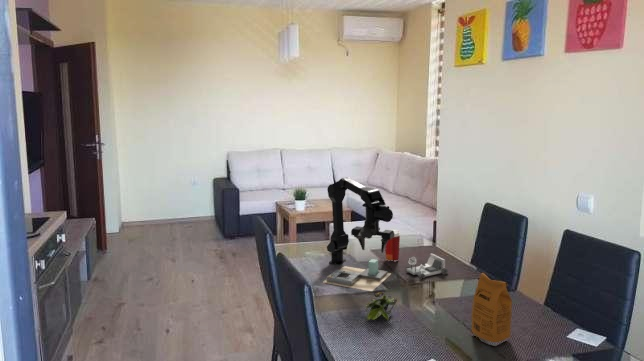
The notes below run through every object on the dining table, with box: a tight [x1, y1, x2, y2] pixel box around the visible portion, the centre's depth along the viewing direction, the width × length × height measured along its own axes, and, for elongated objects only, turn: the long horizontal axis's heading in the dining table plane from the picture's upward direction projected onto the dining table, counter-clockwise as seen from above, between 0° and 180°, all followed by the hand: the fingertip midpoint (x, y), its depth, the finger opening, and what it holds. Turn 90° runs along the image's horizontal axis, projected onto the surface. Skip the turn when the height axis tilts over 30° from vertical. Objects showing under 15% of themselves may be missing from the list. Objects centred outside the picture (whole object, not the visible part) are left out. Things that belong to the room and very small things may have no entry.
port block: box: [326, 269, 361, 286], centre depth 229 cm, size 10×12×2 cm
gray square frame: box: [361, 267, 389, 281], centre depth 233 cm, size 9×10×1 cm
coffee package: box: [471, 272, 513, 342], centre depth 173 cm, size 10×12×22 cm
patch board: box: [322, 265, 392, 292], centre depth 231 cm, size 22×24×1 cm
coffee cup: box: [384, 229, 401, 261], centre depth 252 cm, size 8×8×15 cm
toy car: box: [404, 253, 449, 280], centre depth 235 cm, size 18×10×12 cm
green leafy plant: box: [365, 292, 397, 323], centre depth 193 cm, size 11×11×12 cm
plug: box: [367, 258, 379, 276], centre depth 233 cm, size 4×3×7 cm
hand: (372, 251), depth 231 cm, fingers open, 9 cm apart
